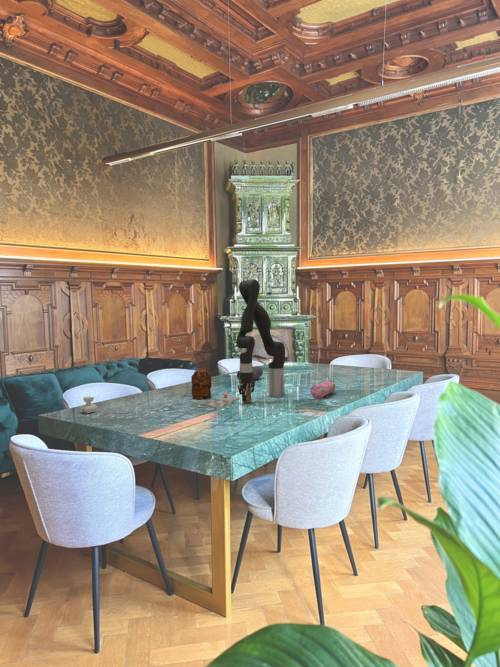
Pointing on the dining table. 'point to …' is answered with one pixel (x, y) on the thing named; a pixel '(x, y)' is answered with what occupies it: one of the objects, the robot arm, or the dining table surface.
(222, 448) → the dining table surface
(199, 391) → the wooden figurine
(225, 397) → the key plate
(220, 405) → the board
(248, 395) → the walnut pin
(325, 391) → the pencil case
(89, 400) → the stamp
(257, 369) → the bluetooth speaker
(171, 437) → the dining table surface
